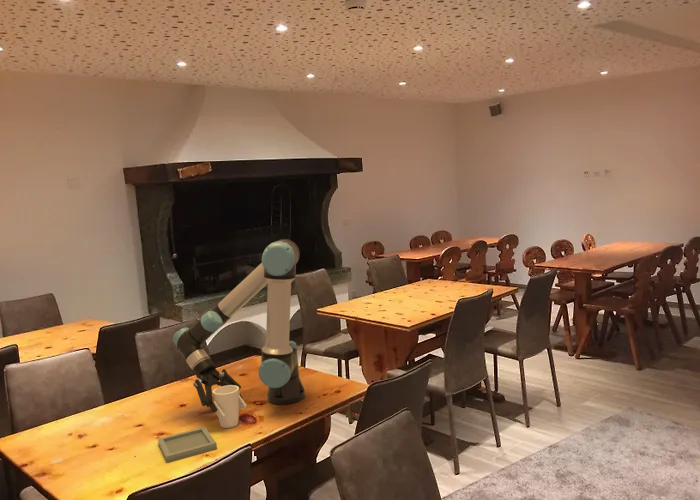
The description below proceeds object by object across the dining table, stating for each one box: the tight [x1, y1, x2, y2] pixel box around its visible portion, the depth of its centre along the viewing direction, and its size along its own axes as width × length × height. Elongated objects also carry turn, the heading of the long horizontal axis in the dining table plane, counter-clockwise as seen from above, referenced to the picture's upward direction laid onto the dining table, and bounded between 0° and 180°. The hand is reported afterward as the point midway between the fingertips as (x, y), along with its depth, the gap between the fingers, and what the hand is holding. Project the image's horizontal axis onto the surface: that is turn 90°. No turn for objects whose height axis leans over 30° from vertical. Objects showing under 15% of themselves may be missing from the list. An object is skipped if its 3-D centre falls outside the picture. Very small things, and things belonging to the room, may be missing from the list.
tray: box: [157, 426, 218, 464], centre depth 191 cm, size 16×16×2 cm
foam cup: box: [212, 385, 241, 429], centre depth 206 cm, size 10×9×13 cm
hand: (233, 412), depth 204 cm, fingers closed on foam cup, 9 cm apart
